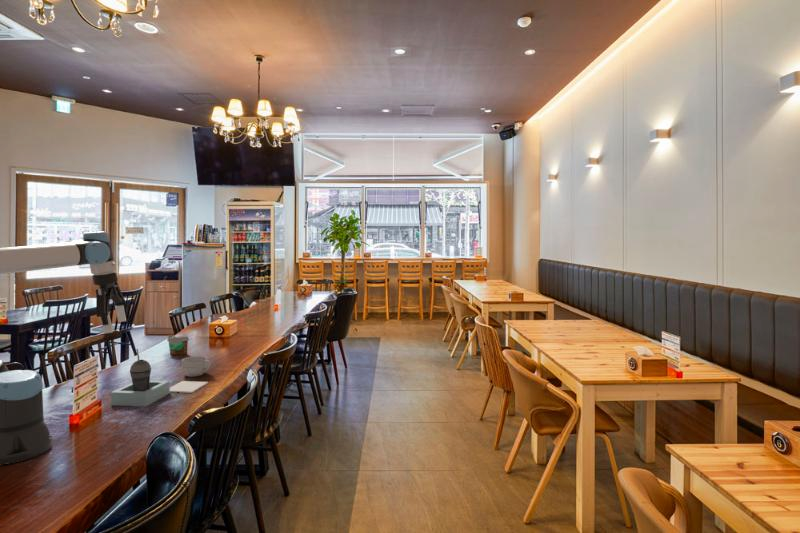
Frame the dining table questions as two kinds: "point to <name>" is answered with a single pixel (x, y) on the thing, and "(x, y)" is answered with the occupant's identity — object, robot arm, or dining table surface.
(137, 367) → the beverage cup
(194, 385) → the grey mat
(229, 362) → the dining table surface
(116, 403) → the grey square tray
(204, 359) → the teacup
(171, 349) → the food container
